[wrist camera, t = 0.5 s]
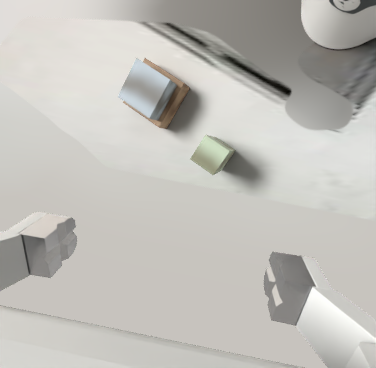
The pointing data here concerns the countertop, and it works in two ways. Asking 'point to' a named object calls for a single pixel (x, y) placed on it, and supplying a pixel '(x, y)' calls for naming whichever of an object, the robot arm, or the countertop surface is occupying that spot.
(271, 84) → the countertop surface
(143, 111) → the pedestal
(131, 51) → the countertop surface
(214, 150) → the green brick
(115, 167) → the countertop surface
